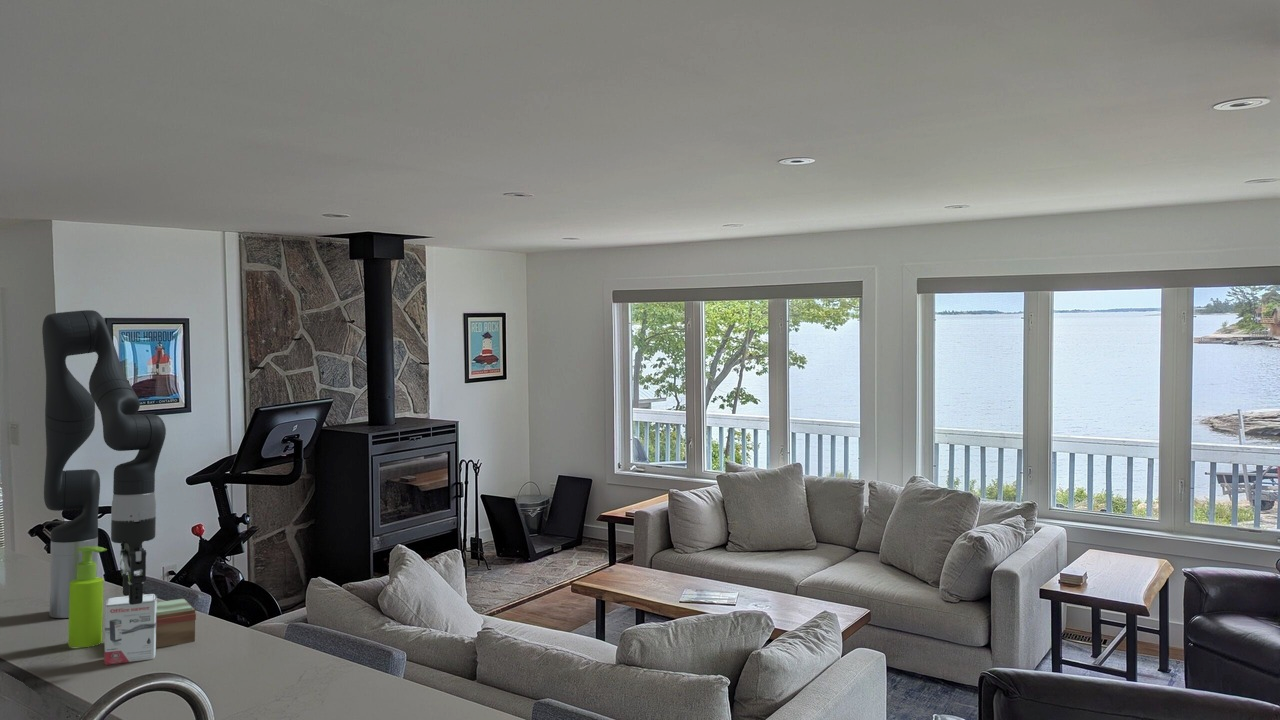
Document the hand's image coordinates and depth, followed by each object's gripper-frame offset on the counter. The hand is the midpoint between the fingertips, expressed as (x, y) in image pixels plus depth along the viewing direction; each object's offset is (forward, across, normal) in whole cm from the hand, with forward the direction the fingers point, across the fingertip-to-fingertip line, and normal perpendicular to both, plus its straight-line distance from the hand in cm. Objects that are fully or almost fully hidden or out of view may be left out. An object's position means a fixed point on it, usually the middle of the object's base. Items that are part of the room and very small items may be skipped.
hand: (132, 599), depth 168 cm
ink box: (+12, 0, 0) cm, 12 cm away
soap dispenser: (+12, -16, -6) cm, 21 cm away
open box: (+12, -10, +6) cm, 17 cm away
